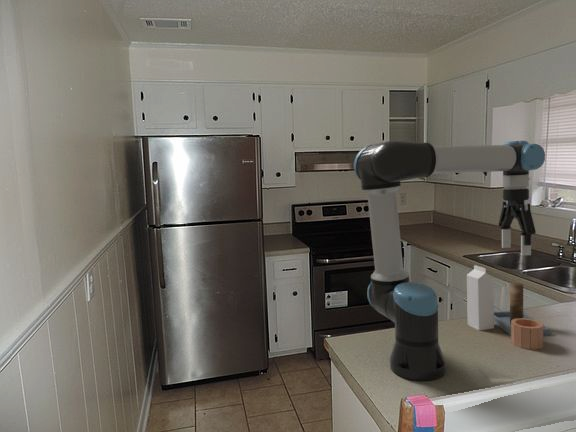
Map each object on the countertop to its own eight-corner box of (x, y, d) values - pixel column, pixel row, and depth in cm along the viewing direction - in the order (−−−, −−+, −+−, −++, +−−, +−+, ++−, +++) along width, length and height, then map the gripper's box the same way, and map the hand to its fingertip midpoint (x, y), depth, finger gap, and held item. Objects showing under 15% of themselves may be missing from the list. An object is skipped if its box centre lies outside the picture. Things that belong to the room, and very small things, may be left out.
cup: (519, 352, 121) (519, 328, 120) (506, 341, 129) (506, 318, 128) (549, 352, 120) (549, 327, 119) (533, 340, 128) (533, 317, 128)
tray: (511, 338, 131) (510, 330, 130) (487, 319, 149) (487, 311, 148) (549, 337, 130) (549, 329, 130) (521, 318, 148) (521, 310, 147)
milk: (482, 325, 144) (481, 264, 142) (494, 331, 138) (494, 267, 136) (467, 327, 142) (466, 265, 140) (478, 333, 136) (478, 269, 134)
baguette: (513, 326, 137) (513, 286, 136) (507, 322, 141) (507, 283, 140) (525, 326, 137) (525, 286, 136) (519, 322, 141) (519, 282, 140)
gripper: (549, 188, 122) (548, 258, 124) (509, 186, 147) (509, 244, 149) (523, 190, 122) (522, 259, 124) (488, 187, 147) (488, 245, 149)
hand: (515, 251), depth 137 cm, fingers open, 13 cm apart
